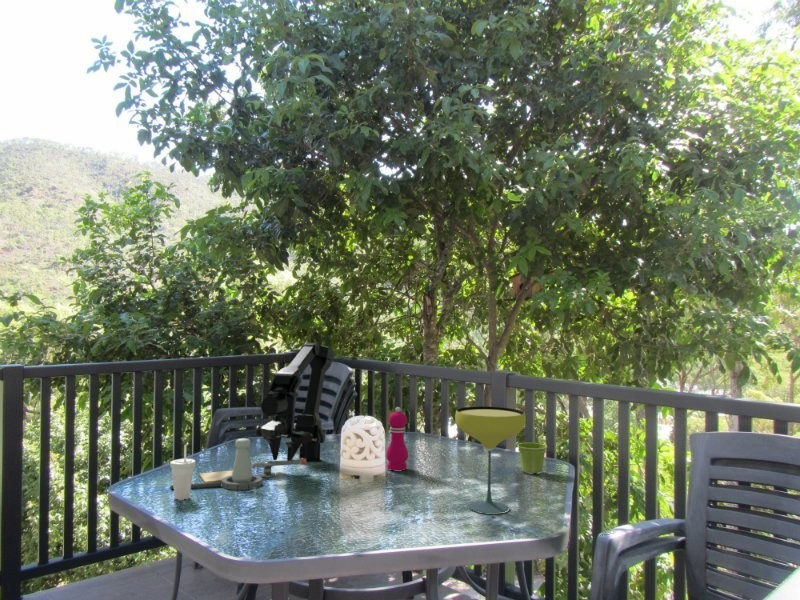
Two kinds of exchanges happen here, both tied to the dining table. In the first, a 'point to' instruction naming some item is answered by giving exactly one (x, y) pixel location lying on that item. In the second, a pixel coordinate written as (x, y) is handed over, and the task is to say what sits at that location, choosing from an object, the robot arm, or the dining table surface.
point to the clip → (278, 463)
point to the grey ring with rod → (231, 484)
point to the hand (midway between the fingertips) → (282, 461)
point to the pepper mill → (397, 441)
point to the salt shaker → (242, 462)
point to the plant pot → (532, 456)
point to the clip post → (267, 473)
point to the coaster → (215, 476)
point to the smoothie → (182, 476)
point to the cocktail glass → (490, 439)
